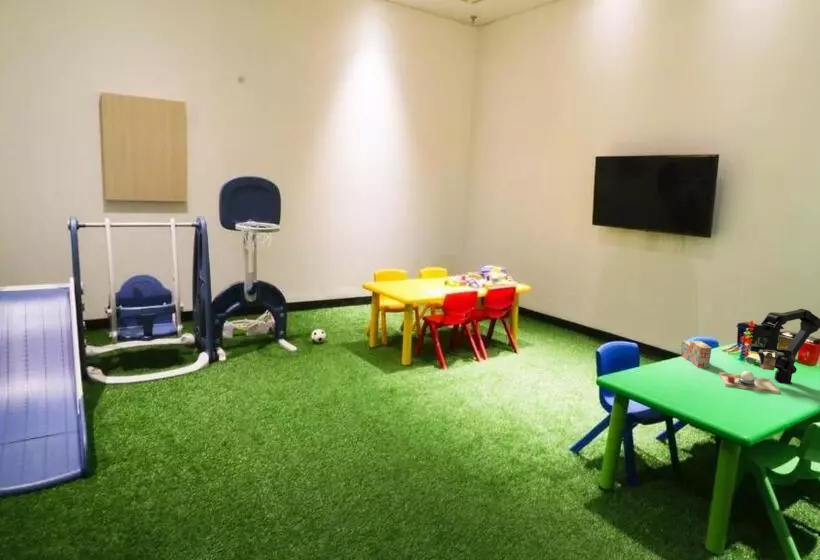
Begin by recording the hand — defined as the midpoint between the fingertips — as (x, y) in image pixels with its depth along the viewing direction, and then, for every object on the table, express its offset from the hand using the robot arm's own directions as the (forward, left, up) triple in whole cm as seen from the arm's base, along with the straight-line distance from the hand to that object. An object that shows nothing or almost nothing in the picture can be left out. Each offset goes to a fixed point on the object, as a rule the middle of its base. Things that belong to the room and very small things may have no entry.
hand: (767, 365), depth 283 cm
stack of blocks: (+30, -23, -10) cm, 39 cm away
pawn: (0, 0, -1) cm, 1 cm away
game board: (+9, +5, -10) cm, 14 cm away
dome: (+11, +11, -7) cm, 17 cm away
